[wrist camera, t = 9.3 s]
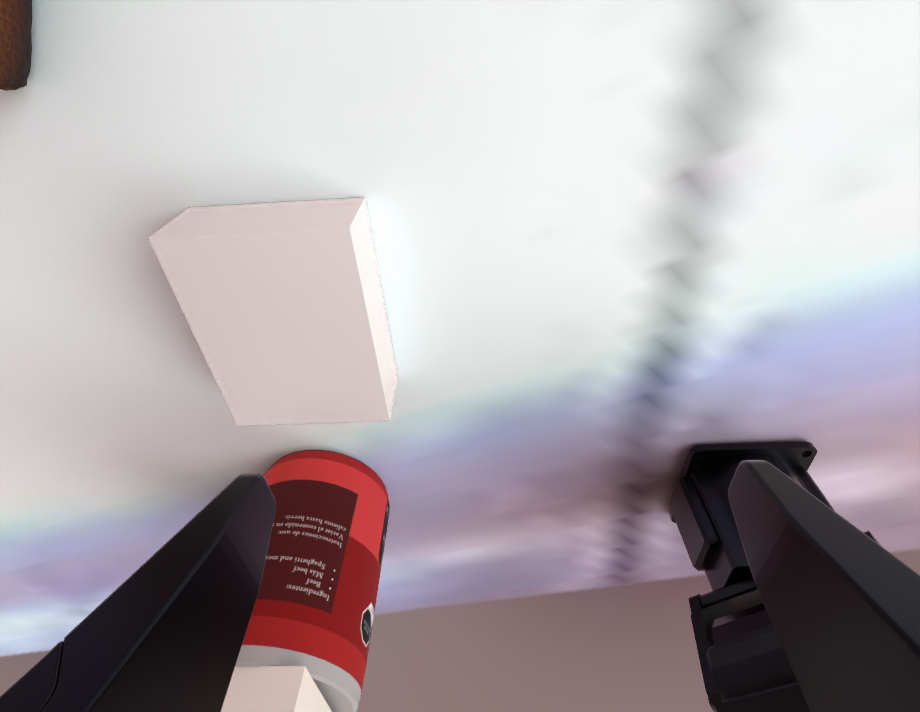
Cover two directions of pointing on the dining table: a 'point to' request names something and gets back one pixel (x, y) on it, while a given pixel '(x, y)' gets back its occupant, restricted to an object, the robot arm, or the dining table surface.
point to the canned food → (320, 573)
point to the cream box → (273, 690)
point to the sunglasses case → (15, 43)
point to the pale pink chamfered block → (285, 308)
